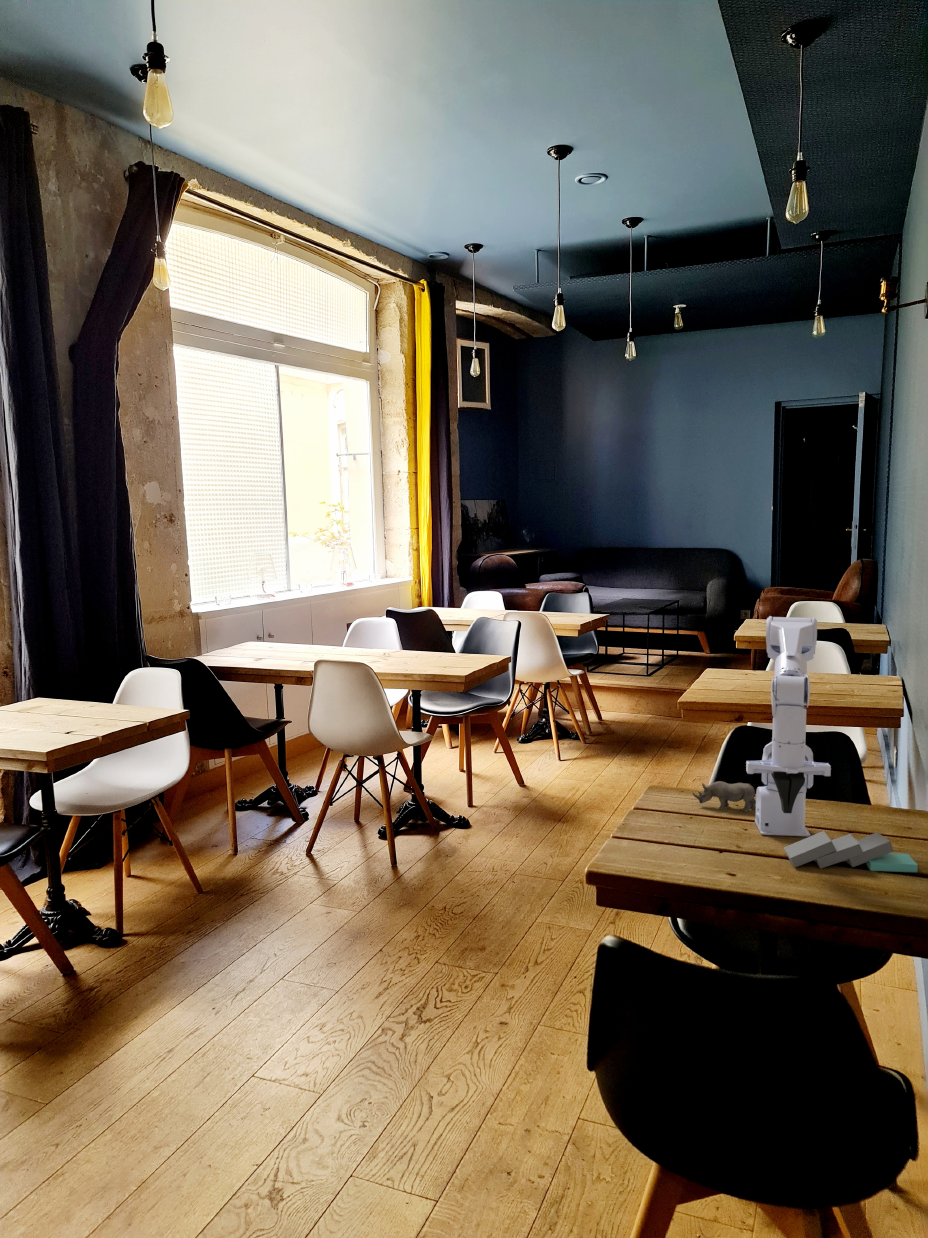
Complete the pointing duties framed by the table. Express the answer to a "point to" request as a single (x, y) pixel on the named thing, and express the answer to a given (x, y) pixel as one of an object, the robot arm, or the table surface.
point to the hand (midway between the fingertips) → (786, 811)
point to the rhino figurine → (728, 794)
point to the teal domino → (893, 863)
